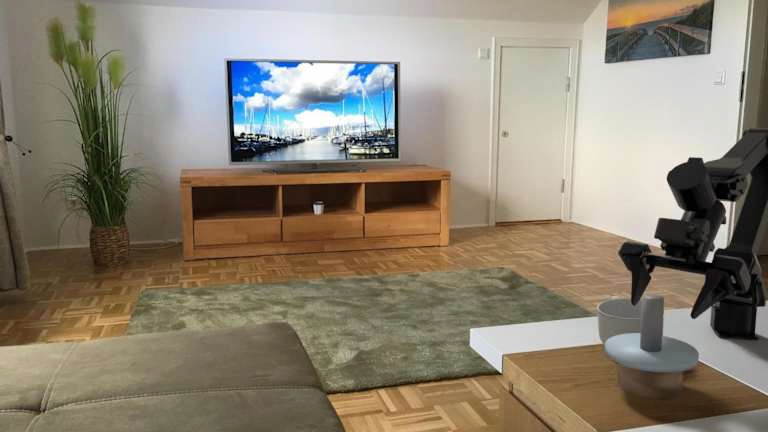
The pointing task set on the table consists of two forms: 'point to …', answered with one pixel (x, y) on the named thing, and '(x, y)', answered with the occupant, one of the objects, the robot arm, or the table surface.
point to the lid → (651, 343)
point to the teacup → (618, 317)
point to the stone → (649, 382)
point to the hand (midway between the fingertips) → (661, 310)
